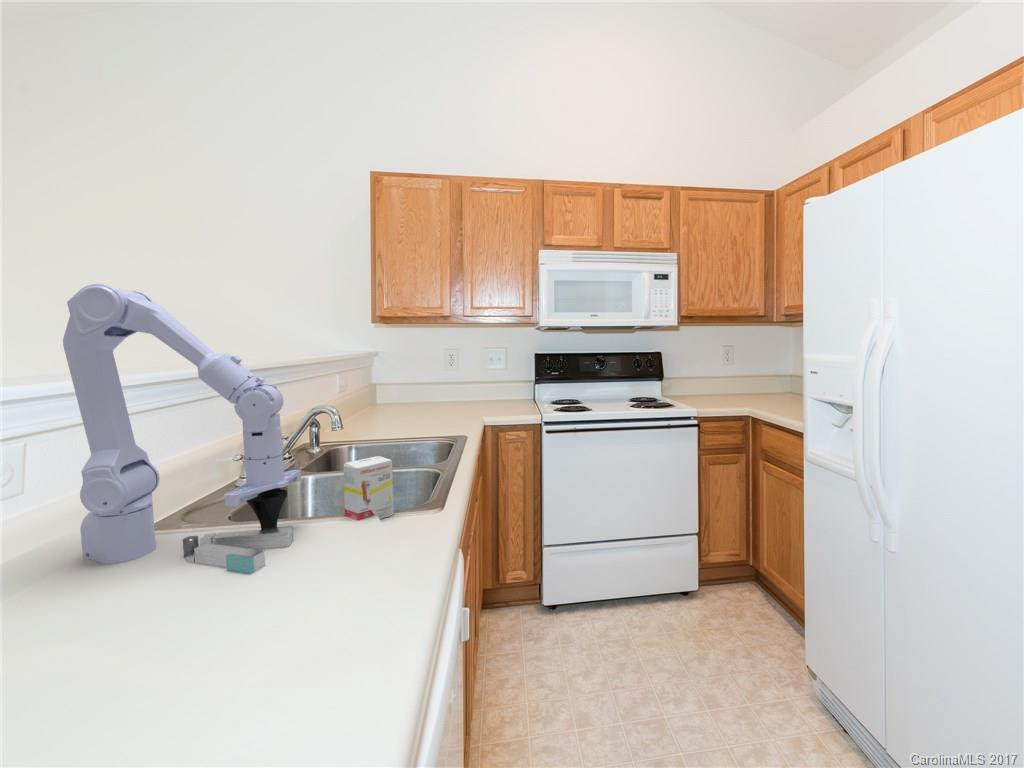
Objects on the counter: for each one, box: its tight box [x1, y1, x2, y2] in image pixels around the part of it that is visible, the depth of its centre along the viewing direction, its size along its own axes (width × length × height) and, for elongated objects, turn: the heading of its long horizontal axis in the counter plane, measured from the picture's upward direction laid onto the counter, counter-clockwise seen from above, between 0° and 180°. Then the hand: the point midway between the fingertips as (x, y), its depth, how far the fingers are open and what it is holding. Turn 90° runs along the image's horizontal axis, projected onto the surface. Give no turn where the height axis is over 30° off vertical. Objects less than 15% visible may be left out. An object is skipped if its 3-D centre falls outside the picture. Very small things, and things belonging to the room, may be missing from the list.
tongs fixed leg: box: [182, 535, 266, 575], centre depth 69 cm, size 16×4×3 cm, turn 74°
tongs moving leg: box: [199, 525, 294, 550], centre depth 75 cm, size 13×3×2 cm, turn 101°
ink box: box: [343, 455, 395, 521], centre depth 90 cm, size 9×5×12 cm, turn 141°
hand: (269, 533), depth 78 cm, fingers closed
